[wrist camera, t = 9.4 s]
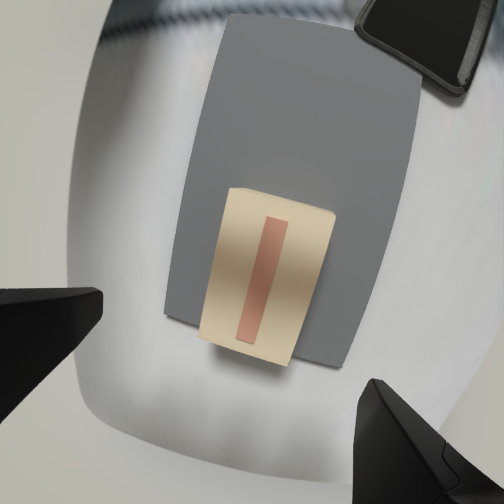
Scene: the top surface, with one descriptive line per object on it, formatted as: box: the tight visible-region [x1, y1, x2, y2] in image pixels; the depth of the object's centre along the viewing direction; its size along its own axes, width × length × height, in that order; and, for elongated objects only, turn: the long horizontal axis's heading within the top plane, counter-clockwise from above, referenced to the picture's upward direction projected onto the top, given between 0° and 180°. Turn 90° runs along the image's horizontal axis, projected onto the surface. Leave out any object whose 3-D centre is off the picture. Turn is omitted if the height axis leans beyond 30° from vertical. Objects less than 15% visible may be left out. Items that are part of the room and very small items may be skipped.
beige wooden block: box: [198, 188, 336, 367], centre depth 16 cm, size 8×5×3 cm, turn 166°
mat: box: [164, 13, 423, 368], centre depth 17 cm, size 20×12×1 cm, turn 167°
